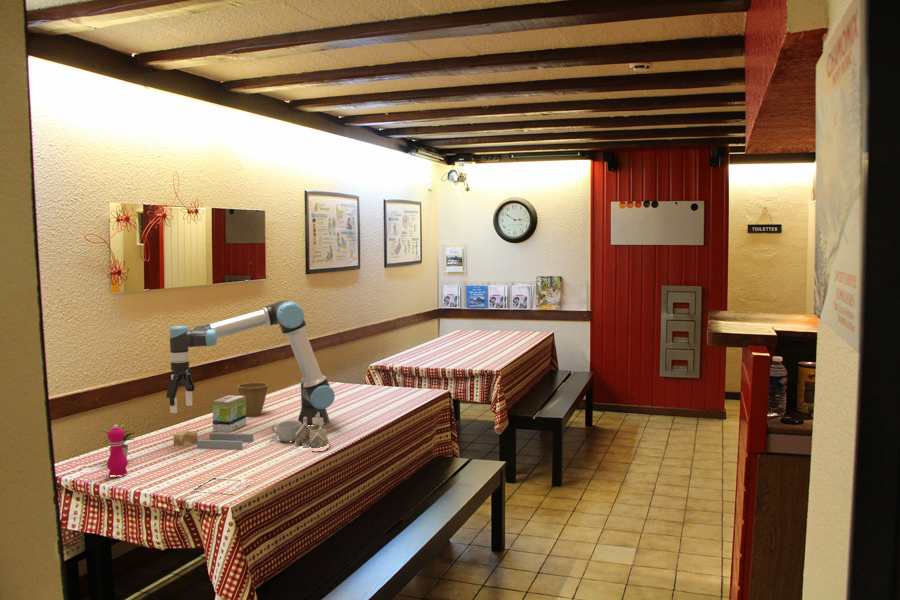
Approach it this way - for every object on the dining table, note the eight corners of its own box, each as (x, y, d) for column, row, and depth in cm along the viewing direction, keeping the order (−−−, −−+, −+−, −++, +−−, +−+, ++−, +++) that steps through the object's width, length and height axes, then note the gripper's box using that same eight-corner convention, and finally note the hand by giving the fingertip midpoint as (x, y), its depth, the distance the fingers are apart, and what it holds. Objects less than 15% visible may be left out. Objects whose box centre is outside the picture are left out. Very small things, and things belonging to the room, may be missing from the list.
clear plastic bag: (235, 493, 240) (190, 490, 244) (235, 496, 240) (190, 493, 244) (256, 479, 254) (212, 476, 258) (256, 482, 254) (212, 479, 258)
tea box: (231, 432, 324) (230, 401, 323) (212, 431, 326) (211, 401, 325) (247, 424, 339) (246, 395, 338) (228, 423, 341) (227, 394, 340)
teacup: (306, 438, 312) (306, 421, 311) (293, 445, 302) (293, 427, 301) (280, 436, 316) (279, 419, 316) (266, 442, 306) (266, 424, 306)
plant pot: (250, 419, 347) (249, 389, 346) (233, 415, 356) (232, 385, 355) (274, 414, 359) (273, 384, 358) (256, 410, 368) (255, 381, 367)
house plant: (110, 470, 269) (108, 429, 268) (90, 464, 276) (88, 425, 275) (143, 460, 281) (141, 421, 280) (123, 455, 288) (122, 417, 287)
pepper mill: (112, 472, 266) (109, 422, 264) (131, 472, 266) (129, 421, 265) (104, 478, 259) (101, 427, 257) (123, 478, 259) (121, 426, 258)
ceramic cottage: (296, 442, 306) (296, 409, 304) (332, 443, 306) (332, 410, 304) (288, 454, 290) (288, 420, 288) (326, 455, 291) (326, 421, 289)
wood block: (197, 431, 304) (180, 431, 305) (190, 435, 298) (173, 434, 299) (197, 444, 304) (180, 444, 305) (190, 448, 298) (173, 448, 299)
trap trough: (253, 443, 304) (253, 433, 304) (241, 452, 291) (240, 441, 291) (211, 442, 307) (211, 432, 306) (197, 450, 294) (196, 440, 293)
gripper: (186, 356, 311) (187, 402, 313) (156, 366, 287) (158, 415, 288) (201, 357, 310) (203, 402, 312) (173, 366, 286) (174, 416, 287)
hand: (181, 409), depth 300 cm, fingers open, 13 cm apart
